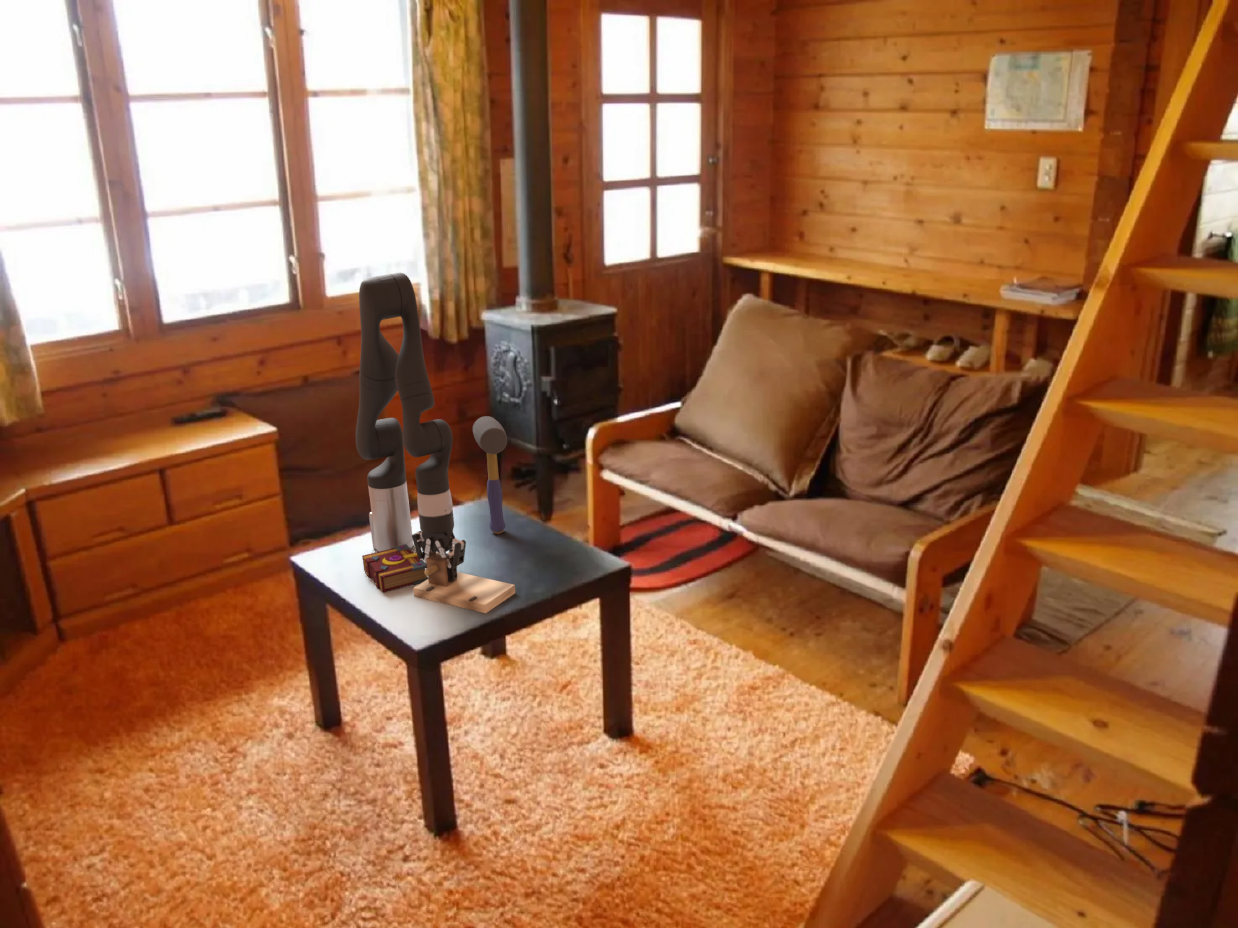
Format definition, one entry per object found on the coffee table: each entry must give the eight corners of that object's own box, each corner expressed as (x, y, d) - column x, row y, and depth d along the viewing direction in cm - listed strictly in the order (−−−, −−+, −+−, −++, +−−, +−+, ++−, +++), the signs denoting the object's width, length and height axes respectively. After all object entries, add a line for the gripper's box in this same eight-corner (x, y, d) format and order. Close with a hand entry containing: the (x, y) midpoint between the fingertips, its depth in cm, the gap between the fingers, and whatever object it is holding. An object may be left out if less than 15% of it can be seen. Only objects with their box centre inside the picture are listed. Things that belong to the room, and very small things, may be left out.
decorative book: (382, 595, 237) (380, 574, 235) (361, 570, 250) (359, 551, 248) (430, 582, 242) (427, 562, 240) (407, 559, 255) (404, 540, 254)
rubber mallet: (517, 538, 264) (508, 425, 254) (487, 543, 262) (477, 428, 252) (507, 521, 275) (498, 412, 266) (479, 526, 273) (469, 415, 264)
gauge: (420, 588, 234) (417, 563, 232) (448, 571, 242) (445, 547, 240) (437, 592, 231) (434, 567, 230) (465, 574, 240) (463, 550, 238)
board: (414, 595, 235) (413, 586, 234) (445, 577, 244) (444, 568, 243) (485, 613, 225) (484, 603, 224) (515, 592, 234) (514, 583, 233)
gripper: (399, 509, 232) (407, 579, 237) (450, 519, 225) (457, 591, 230) (421, 498, 238) (428, 567, 243) (471, 508, 231) (478, 578, 236)
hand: (442, 578), depth 237 cm, fingers closed on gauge, 5 cm apart
